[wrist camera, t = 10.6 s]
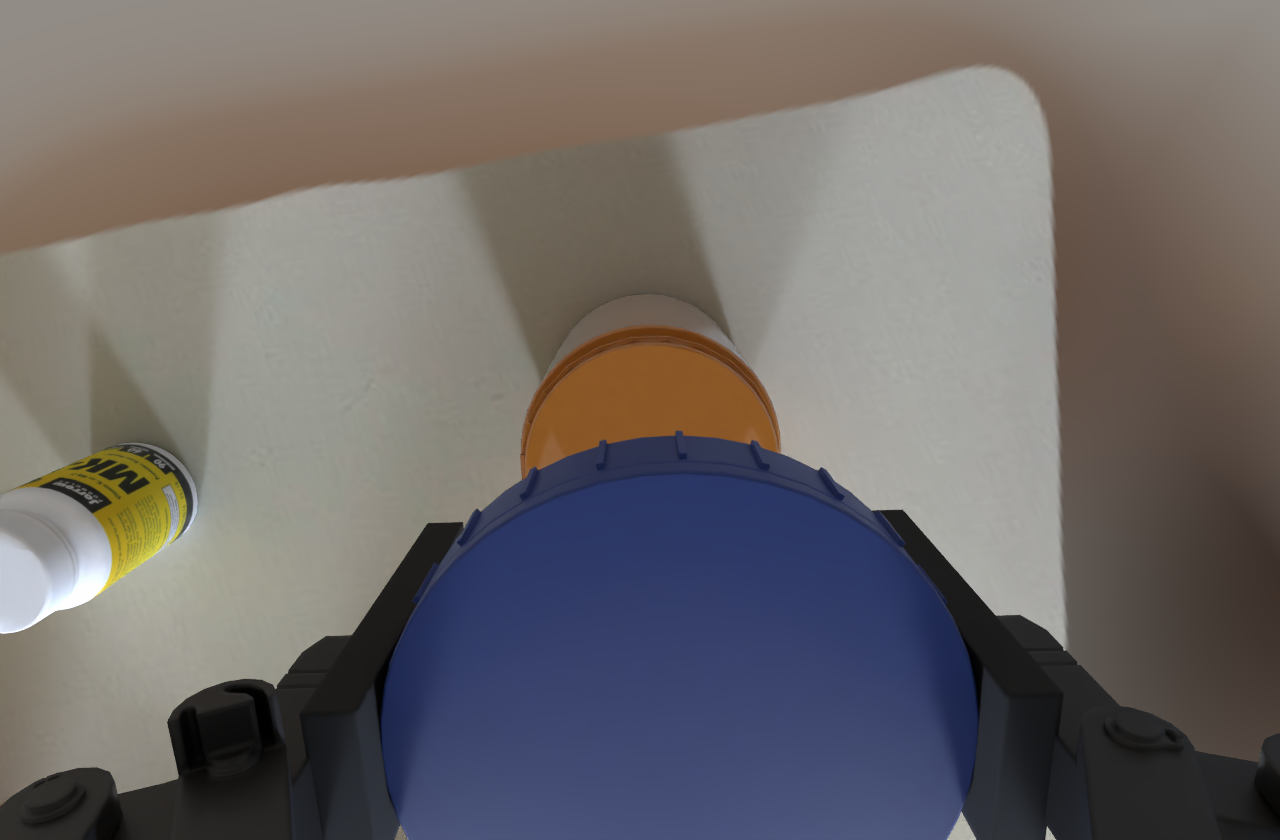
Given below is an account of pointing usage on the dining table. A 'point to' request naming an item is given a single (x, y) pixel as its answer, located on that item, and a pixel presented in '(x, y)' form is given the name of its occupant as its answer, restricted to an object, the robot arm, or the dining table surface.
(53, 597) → the supplement bottle
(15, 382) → the dining table surface
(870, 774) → the lid
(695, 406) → the jar
